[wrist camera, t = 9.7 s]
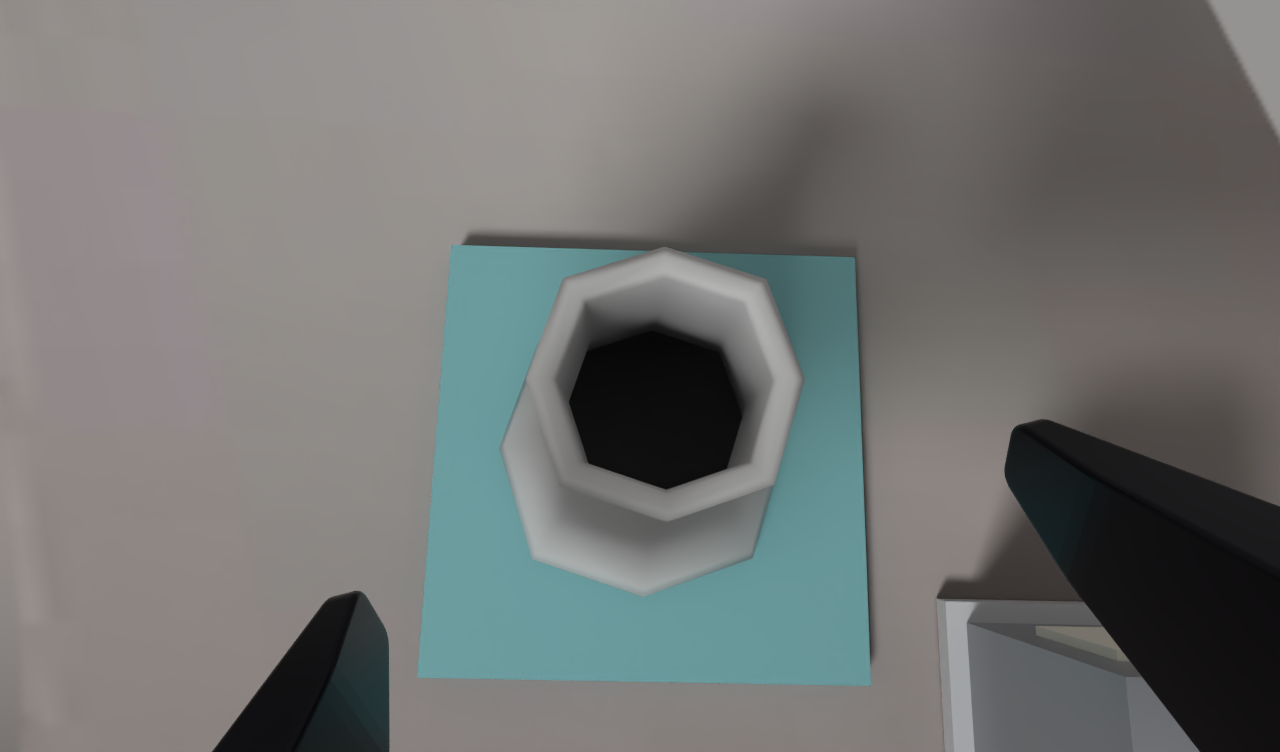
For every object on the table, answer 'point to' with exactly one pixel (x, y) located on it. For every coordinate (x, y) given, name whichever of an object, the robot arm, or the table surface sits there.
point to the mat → (680, 615)
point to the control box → (1043, 682)
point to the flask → (652, 421)
